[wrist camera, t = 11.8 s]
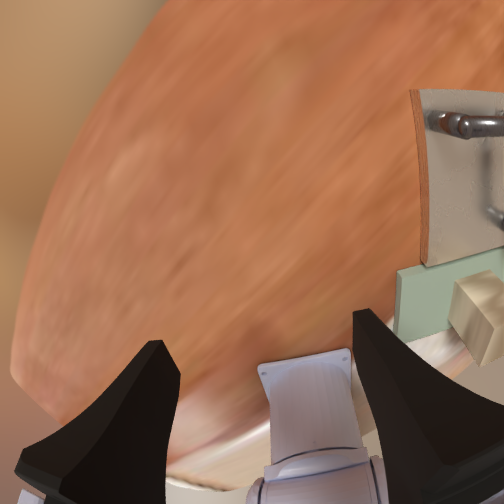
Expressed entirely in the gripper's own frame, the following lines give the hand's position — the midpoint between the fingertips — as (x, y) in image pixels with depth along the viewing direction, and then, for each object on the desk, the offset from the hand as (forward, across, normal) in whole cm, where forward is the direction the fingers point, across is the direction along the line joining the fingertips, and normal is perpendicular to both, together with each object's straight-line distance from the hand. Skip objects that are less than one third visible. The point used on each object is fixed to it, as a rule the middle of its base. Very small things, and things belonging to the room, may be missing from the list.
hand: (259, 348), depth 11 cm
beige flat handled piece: (+9, -16, -2) cm, 19 cm away
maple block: (+8, -16, +8) cm, 20 cm away
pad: (+9, -16, +8) cm, 20 cm away
